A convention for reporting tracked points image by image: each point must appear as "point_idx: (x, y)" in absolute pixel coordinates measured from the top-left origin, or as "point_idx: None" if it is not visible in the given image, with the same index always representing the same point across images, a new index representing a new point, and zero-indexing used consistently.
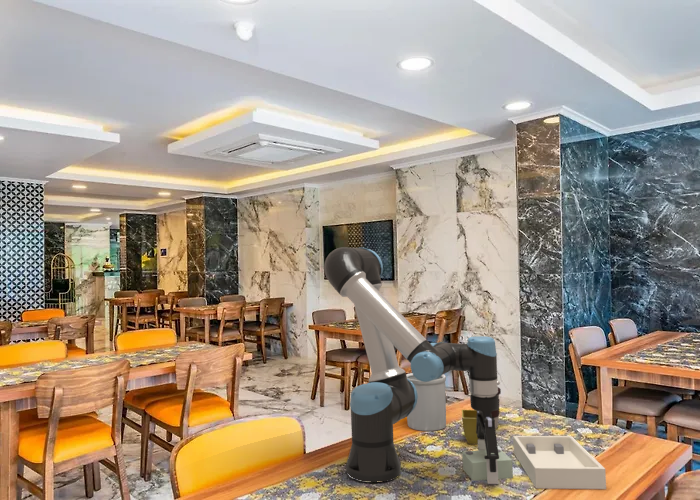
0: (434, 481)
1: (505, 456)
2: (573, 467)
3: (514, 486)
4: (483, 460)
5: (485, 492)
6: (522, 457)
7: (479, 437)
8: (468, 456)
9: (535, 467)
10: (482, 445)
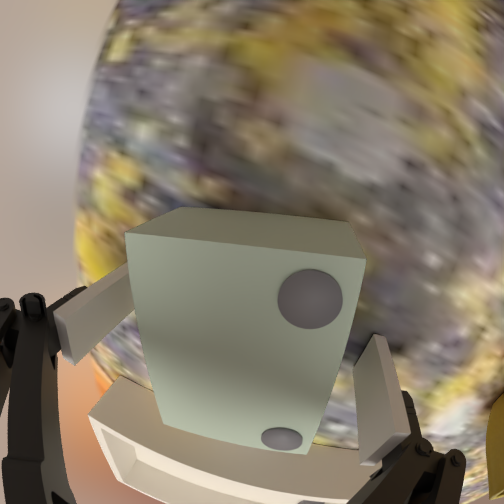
0: (219, 16)
1: (204, 429)
2: (112, 463)
3: (127, 335)
4: (154, 320)
5: (86, 214)
6: (266, 462)
7: (402, 451)
8: (243, 262)
9: (92, 418)
10: (375, 420)
